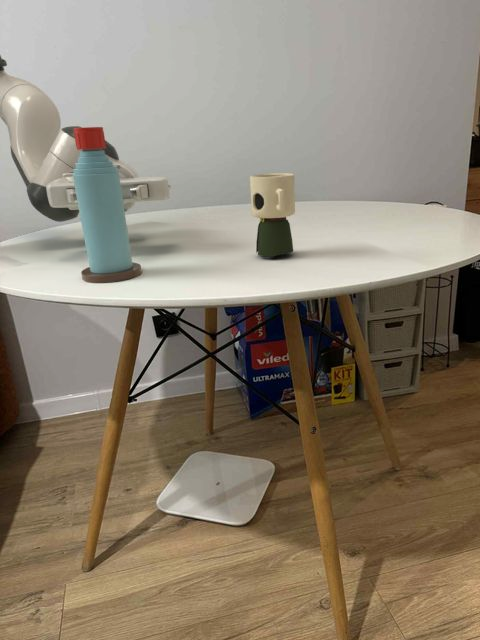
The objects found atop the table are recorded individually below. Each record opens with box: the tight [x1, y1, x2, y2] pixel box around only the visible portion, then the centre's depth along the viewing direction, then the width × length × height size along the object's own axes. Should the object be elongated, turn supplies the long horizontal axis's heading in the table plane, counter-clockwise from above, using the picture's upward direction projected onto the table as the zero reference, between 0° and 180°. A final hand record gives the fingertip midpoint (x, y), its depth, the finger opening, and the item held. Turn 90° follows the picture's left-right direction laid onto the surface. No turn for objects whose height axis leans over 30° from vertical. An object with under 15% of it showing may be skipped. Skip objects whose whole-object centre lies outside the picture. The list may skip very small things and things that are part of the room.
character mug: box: [249, 172, 296, 258], centre depth 82 cm, size 11×7×13 cm, turn 15°
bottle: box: [73, 149, 133, 274], centre depth 74 cm, size 6×6×20 cm
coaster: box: [80, 261, 143, 284], centre depth 78 cm, size 9×9×1 cm
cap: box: [73, 126, 106, 150], centre depth 70 cm, size 4×4×3 cm
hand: (105, 195), depth 80 cm, fingers open, 8 cm apart
